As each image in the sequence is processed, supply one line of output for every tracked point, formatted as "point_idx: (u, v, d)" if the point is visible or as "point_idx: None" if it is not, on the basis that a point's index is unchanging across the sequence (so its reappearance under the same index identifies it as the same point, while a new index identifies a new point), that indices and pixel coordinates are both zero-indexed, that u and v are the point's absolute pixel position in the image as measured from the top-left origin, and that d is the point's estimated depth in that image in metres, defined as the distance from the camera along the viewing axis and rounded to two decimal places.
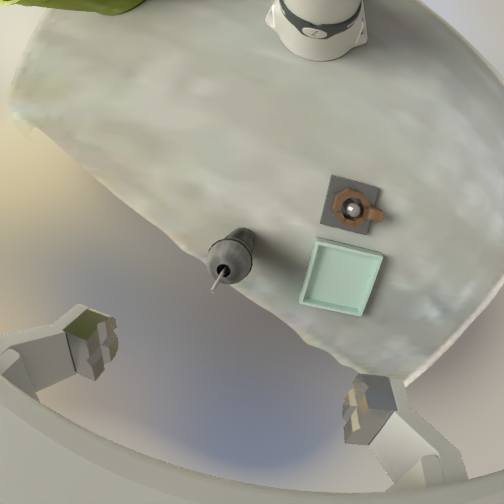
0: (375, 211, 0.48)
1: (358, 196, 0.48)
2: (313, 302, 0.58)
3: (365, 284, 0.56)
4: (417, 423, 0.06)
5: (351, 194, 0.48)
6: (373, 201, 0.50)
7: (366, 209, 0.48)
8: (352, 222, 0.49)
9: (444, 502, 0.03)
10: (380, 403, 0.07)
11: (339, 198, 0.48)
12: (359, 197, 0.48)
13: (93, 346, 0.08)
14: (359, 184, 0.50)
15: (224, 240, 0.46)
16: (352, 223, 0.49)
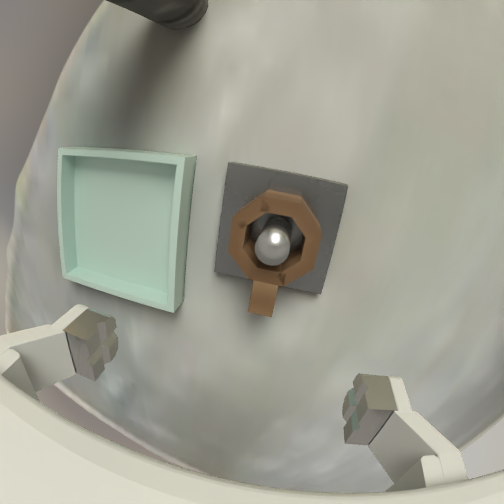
0: (271, 298, 0.22)
1: (307, 256, 0.20)
2: (65, 177, 0.23)
3: (118, 276, 0.28)
4: (417, 423, 0.06)
5: (311, 237, 0.20)
6: (290, 283, 0.24)
7: (275, 276, 0.21)
8: (238, 245, 0.21)
9: (444, 502, 0.03)
10: (380, 403, 0.07)
11: (299, 207, 0.19)
12: (304, 258, 0.20)
13: (93, 346, 0.08)
14: (328, 251, 0.23)
15: None
16: (237, 244, 0.21)
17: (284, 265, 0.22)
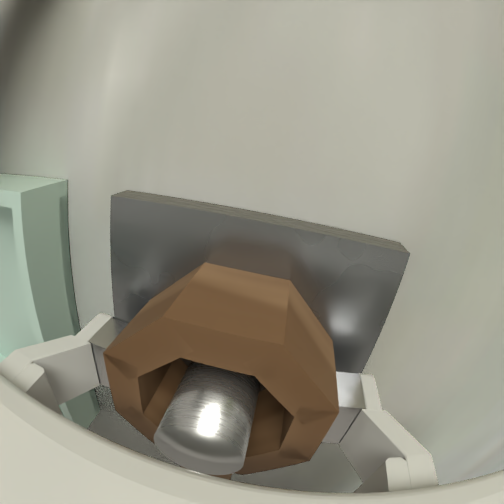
0: None
1: (296, 444, 0.07)
2: None
3: None
4: (385, 423, 0.06)
5: (309, 417, 0.06)
6: None
7: None
8: (132, 406, 0.07)
9: (444, 502, 0.03)
10: (347, 400, 0.07)
11: (279, 355, 0.06)
12: (289, 447, 0.07)
13: None
14: None
15: None
16: (128, 404, 0.07)
17: None
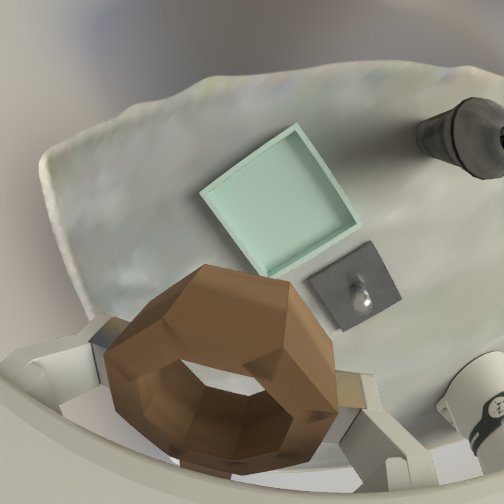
0: None
1: (295, 445, 0.07)
2: (278, 141, 0.30)
3: (241, 227, 0.36)
4: (386, 423, 0.06)
5: (308, 419, 0.06)
6: (336, 317, 0.37)
7: (223, 463, 0.08)
8: (132, 408, 0.07)
9: (444, 502, 0.03)
10: (347, 400, 0.07)
11: (278, 356, 0.06)
12: (289, 448, 0.07)
13: None
14: (366, 317, 0.36)
15: None
16: (128, 405, 0.07)
17: (245, 436, 0.08)
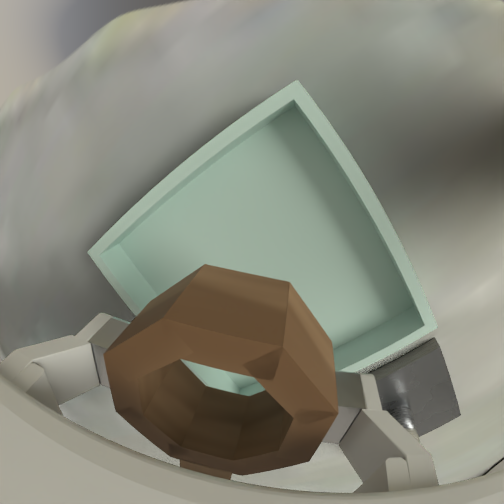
0: None
1: (295, 445, 0.07)
2: (250, 131, 0.12)
3: None
4: (386, 423, 0.06)
5: (309, 418, 0.06)
6: None
7: (224, 463, 0.08)
8: (133, 407, 0.07)
9: (444, 502, 0.03)
10: (347, 400, 0.07)
11: (278, 356, 0.06)
12: (289, 448, 0.07)
13: None
14: None
15: None
16: (129, 405, 0.07)
17: (245, 436, 0.08)
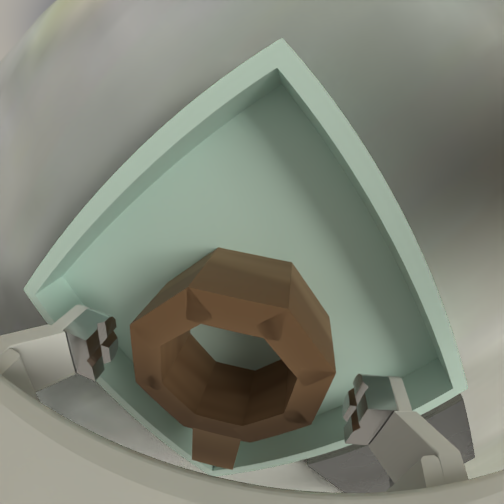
0: (230, 452, 0.10)
1: (299, 407, 0.08)
2: (211, 121, 0.07)
3: None
4: (417, 423, 0.06)
5: (310, 378, 0.08)
6: None
7: (234, 429, 0.09)
8: (152, 376, 0.09)
9: (444, 502, 0.03)
10: (380, 403, 0.07)
11: (284, 318, 0.07)
12: (293, 410, 0.08)
13: (93, 346, 0.08)
14: None
15: None
16: (149, 374, 0.09)
17: (253, 404, 0.10)
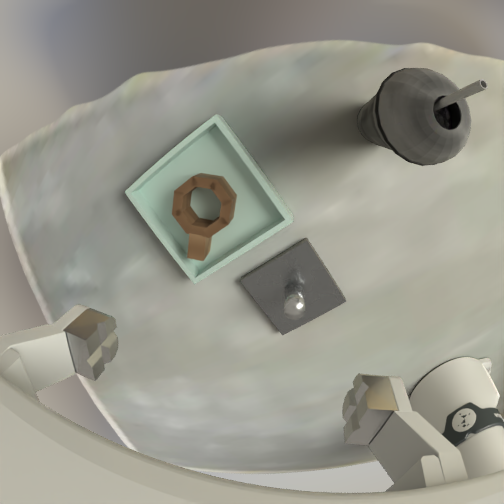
0: (202, 246, 0.31)
1: (223, 215, 0.29)
2: (199, 136, 0.28)
3: (168, 226, 0.34)
4: (417, 423, 0.06)
5: (225, 202, 0.29)
6: (273, 319, 0.36)
7: (203, 230, 0.30)
8: (178, 209, 0.30)
9: (444, 502, 0.03)
10: (380, 403, 0.07)
11: (216, 182, 0.28)
12: (221, 217, 0.30)
13: (93, 346, 0.08)
14: (307, 320, 0.35)
15: None
16: (177, 209, 0.30)
17: (210, 223, 0.31)
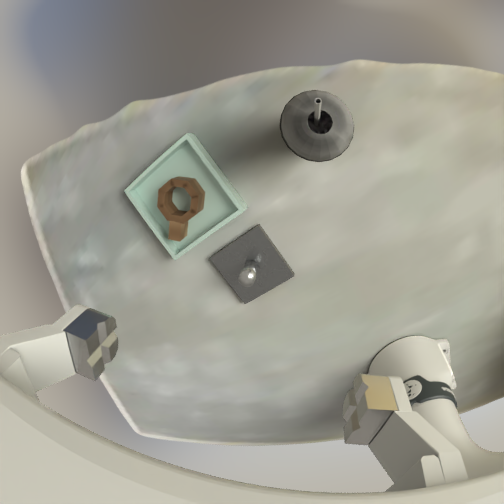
0: (178, 230, 0.41)
1: (192, 207, 0.40)
2: (176, 149, 0.39)
3: (156, 216, 0.44)
4: (417, 423, 0.06)
5: (193, 197, 0.39)
6: (237, 290, 0.46)
7: (179, 218, 0.41)
8: (161, 203, 0.40)
9: (444, 502, 0.03)
10: (380, 403, 0.07)
11: (187, 183, 0.39)
12: (191, 208, 0.40)
13: (93, 346, 0.08)
14: (263, 291, 0.45)
15: (347, 146, 0.26)
16: (160, 202, 0.40)
17: None
